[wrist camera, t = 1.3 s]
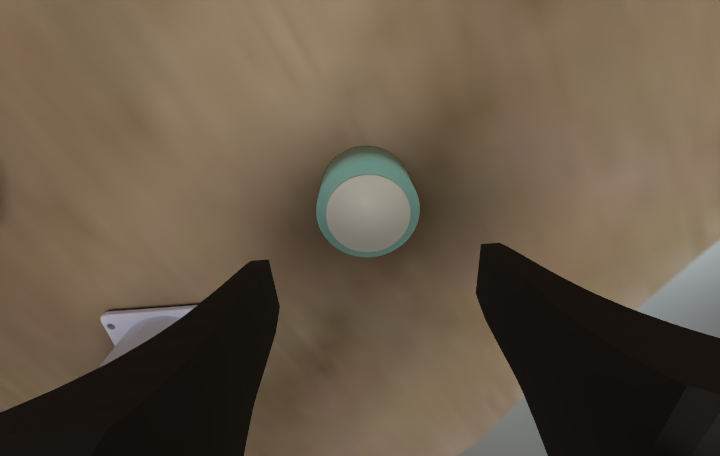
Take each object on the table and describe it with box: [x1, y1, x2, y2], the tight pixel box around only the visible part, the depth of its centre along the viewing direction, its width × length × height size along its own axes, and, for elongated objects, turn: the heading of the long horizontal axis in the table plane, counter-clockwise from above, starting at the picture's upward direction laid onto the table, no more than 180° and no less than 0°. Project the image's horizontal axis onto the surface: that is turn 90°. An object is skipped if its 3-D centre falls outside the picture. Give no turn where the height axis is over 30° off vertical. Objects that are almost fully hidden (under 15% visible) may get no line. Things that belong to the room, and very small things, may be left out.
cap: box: [316, 146, 420, 257], centre depth 17 cm, size 5×5×4 cm
